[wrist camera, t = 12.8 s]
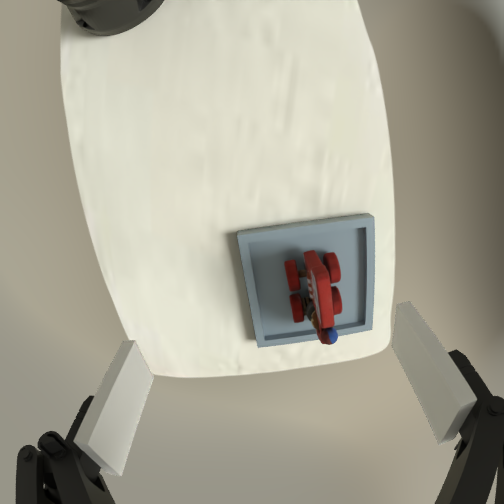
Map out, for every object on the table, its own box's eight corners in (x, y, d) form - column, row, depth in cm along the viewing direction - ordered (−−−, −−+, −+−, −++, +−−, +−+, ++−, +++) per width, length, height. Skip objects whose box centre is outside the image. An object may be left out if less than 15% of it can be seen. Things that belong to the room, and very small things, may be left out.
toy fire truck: (293, 323, 44) (301, 370, 34) (280, 246, 39) (287, 281, 30) (338, 314, 43) (356, 358, 33) (331, 237, 39) (354, 269, 29)
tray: (238, 230, 40) (237, 235, 38) (369, 213, 38) (374, 217, 36) (257, 339, 46) (257, 347, 44) (368, 322, 45) (371, 329, 43)
